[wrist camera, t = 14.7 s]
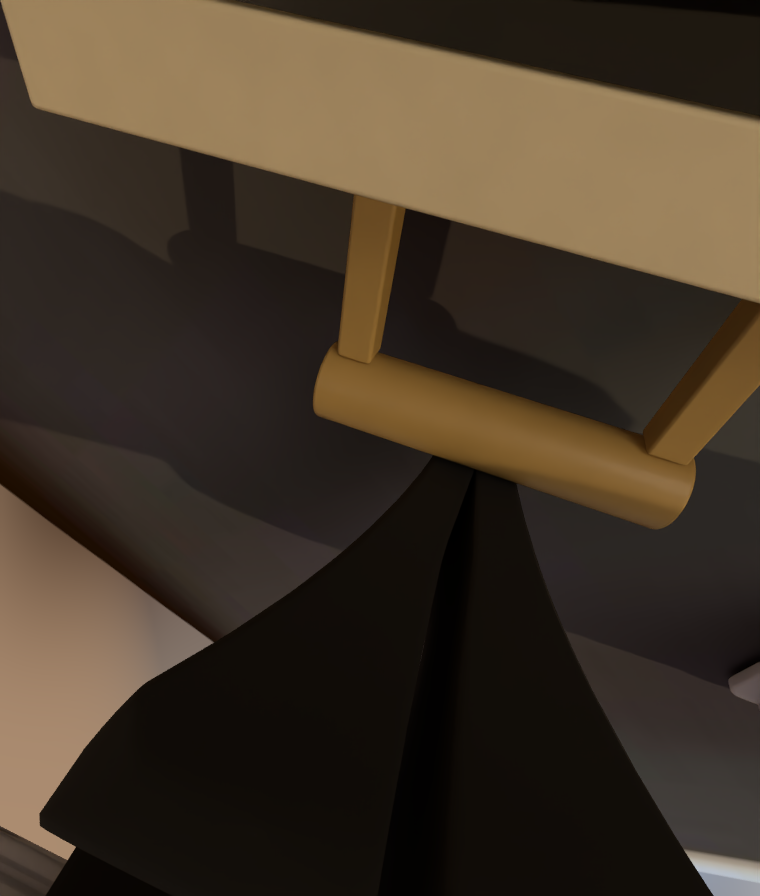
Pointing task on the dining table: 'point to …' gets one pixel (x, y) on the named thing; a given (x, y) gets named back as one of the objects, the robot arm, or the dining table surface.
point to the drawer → (445, 205)
